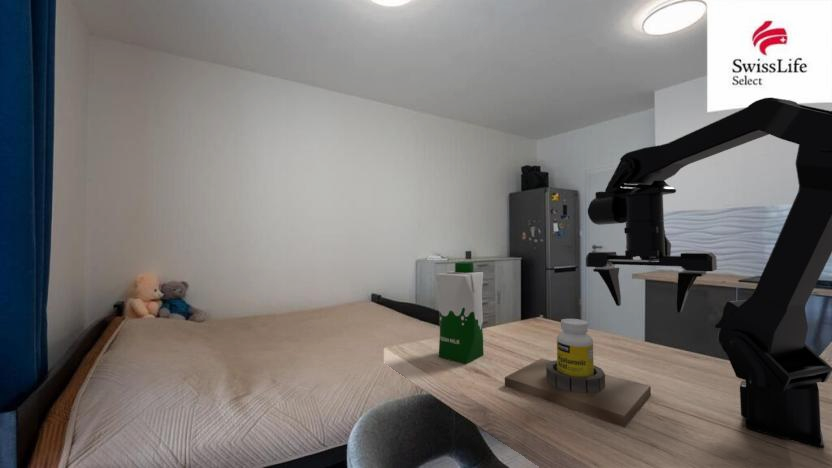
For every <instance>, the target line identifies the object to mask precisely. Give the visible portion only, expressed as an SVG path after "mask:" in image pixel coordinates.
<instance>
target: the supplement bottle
mask: <svg viewBox="0 0 832 468" xmlns="http://www.w3.org/2000/svg"><path fill="white" fill-rule="evenodd" d="M560 320H561V321H560V329H561V332H559V333H558V334H557V336H556V360H557V372H559V373H562V374H565V375H569V376H576V377H589V376H594V340H593V338H592V336H590V335H589V334H588V330H589V326H588V324H589V323H588V321H586V320H584V319H580V318H579V319H578V318H563V319H560Z"/></svg>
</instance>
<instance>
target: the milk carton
mask: <svg viewBox="0 0 832 468" xmlns="http://www.w3.org/2000/svg"><path fill="white" fill-rule="evenodd" d="M434 276H435V279H436V281H435V282H436V284H437V291H438V298H439V299H438V301H439V302H438V305H439V307H438V308H439V309H438V310H439V342H438V358H441V359H444V360H449V361H452V362H456V363H459V364H460V363H461V364H464V365H467V364H469V363H471V362H473V361H475V360H476V359H479V358H481V357H482V356H484V352H485V351H484V327H483V325H484V323H483V322H484V321H483V282H484V272H483V271H481V272H479V271H474V262H467V261H465V262H463V261H462V262H455V263H454V270H453V271H451V270H450V271H443V272H440V273H439V272H438V273H435V274H434Z"/></svg>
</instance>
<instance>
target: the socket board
mask: <svg viewBox="0 0 832 468" xmlns="http://www.w3.org/2000/svg"><path fill="white" fill-rule="evenodd" d="M593 365H594V364H593ZM504 387H506V388H509V389H510V390H511V389H512V390H515V391H518V392H519V393H520V392H521V393H523V394H526V395H529V396H532V397H535V398H539V399H541V400H545V401H547V402H549V403H552V404H555V405H559V406H562V407H565V408H567V409H571V410H573V411H576V412H578V413H582V414H584V415H588V416H590V417H593V418H596V419H599V420H602V421H605V422H607V423H611V424H614V425H616V426H619V427H623V428H626V426H627V425H628V424H629V423H630V422H631V420H632V419H633V418H634V417H635V416H636V415H637V413H638V412H639V411H640V409H641V408H642V407H643V406H644V404H645V403H646V402H647V401H648V399H650V397H651V396H652V391H651V390H652V389H651V388H652V386H651V385H650V384H649V385H648V384H645V383H641V382H637V381H634V380H629V379H625V378H620V377H617V376H613V375H610V374H605V372H604V370H603V369H602V368H601V367H598V366H597V365H594V376H589V377H576V376H569V375H565V374H562V373H559V372H557V359H556V360H551V359H550V360H549V359H546V358H540V359H538V360H536V361H534V362H532V363H530V364H527V365H526V366H524V367H522V368H520V369H518V370H516V371H515V372H512V373H510V374H508V375H507V376H505V377H504Z"/></svg>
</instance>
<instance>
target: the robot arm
mask: <svg viewBox="0 0 832 468" xmlns="http://www.w3.org/2000/svg"><path fill="white" fill-rule="evenodd" d="M768 135H770V136H773V137H774V138H778V139H780V140H783V141H787V142H789V143H793V144H796V145H798V148H797V153H796V159H795V171H796V174H797V175H796V176H797V181H798V182H797V183H798V189H797V194H796V196H795V198H794V200H793V202H792V204H791V208H790V210H789V211H788V214H787V217H785V218H786V219H785V221H784V223H783V225H782V227H781V230H780V232H779V234H778V237H777V239H776V240H775V241H776V242H775V243H774V246H773V249H772V251H771V252H770V254H769V257H768V260H767V262H766V264H765V265H764V269H763V271H762V273H761V275H760V279H759V280H758V282H757V285H756V287H755V289H754V291H753V293H752V295H750V297H749V298H748V299H743V300H742V299H740V300H732V301H731V300H730V301H727V302H725V305H724V307H723V311H722V315H721V319H720V320H719V321H718V323H716V324H715V325H714V328H716V329H719V331H718V333H717V342H718V343H719V345H720V346H721V347H722V350H723V351H724V352H725V354H726V356H727V358H728V360H729V363H730V365H731V367H732V369H733V370H732V371H733V372H734V373H735V374H734V375H735V377H736V378H738V379H741V382H740V385H739V398H740V399H739V401H740V416H741V417H742V418H743V419H745V422H744V424H745V427H746V428H747V429H749V430H753V431H757V432H760V433H762V434H763V433H765V434H767V435H770V436H774V437H777V438H778V437H779V438H782V439H784V440H790V441H792V442H796V443H799V444H803V445H807V446H810V447H813V448H818V449H825V442H824V438H823V432H822V425H821V405H820V403H821V402H820V390H819V385H818V383H826V382H827V381H828V379H829V378H830V376H831V374H832V366H830V364H828V363H827V361H825V360H824V359H823V358H822V357H821V356H819V354H817V353H816V352H815V351H814V350H813V349H811V348H810V347H809V346H808V345H807V344H806V340H807V335H808V330H809V325H808V321H807V320H808V319H807V314H806V306H807V304H808V301H809V299H810V297H811V295H812V293H813V291H814V289H815V287H816V285H817V283H818V280H819V279H820V276H821V275H822V273H823V270H824V269H825V267H826V265H827V263H828V261H829V259H830V257H831V255H832V110H829V109H828V110H827V109H824V108H817V107H813V106H807V105H803V104H799V103H798V102H796V101H794V100H791V99H783V98H777V97H764V98H760V99H757V100H754V101H753V102H752V103H750V104H749V105H748V106H747V107H745V108H743V109H740V110H738V111H735V112H734V113H731V114H729V115H727V116H725V117H723V118H719V119H718V120H716V121H713V122H712V123H709V124H706V125H705V126H703V127H701V128H699V129H696V130H694V131H692V132H690V133H687V134H685V135H682V136H680V137H678V138H676V139H674V140H672V141H670V142H667V143H664V144H660V145H659V144H658V145H652V146H647V147H642V148H639V149H635V150H631V151H628V152H626V153H624V154H623V155H622V156H620V160H619V162H618V164H617V167H616V168H615V170H614V173H613V174H612V176H611V178H610V180H609V181H608V183H607V186H606V187H605V190H604V191H596V192H595V198H593V199H592V200H591V201H590V202H589V205H588V208H587V215H588V218H589V220H590V221H591V222H592V223H593V224H595V225H599V226H601V225H615V224H625V227H624V229H623V230H624V234H625V236H626V237H625V238H626V240H625V241H626V242H625V243H626V244H625V248H626V249H625V251H624V253H625V254H623V255H619V254H617V252H616V251H591V252H588V253H587V254H586V257H585V267H587V268H593V269H592V271H593V272H595V273H598V274H599V276H600V277H601V279H602V281H604V283H605V286H606V287H607V289H608V291H609V292H610V295H611V297H612V299H613V301H614V303H615V305H616V306H617V307H620V306H621V304H622V303H621V302H622V301H621V300H622V294H621V287H620V281H619V280H620V279H619V273H620V267H615V266H616V265H618V266H619V265H623V266H624V265H626V266H649V267H650V266H651V267H652V266H653V267H655V266H656V267H681V269H682V270H681V271H679V272H678V273H677V274H678V275H677V286H676V288H677V289H676V312H677V313H679V314H680V313H682V311H683V309H684V306H685V304H686V300H687V298H688V295H689V293H690V290H691V288H692V287H693V284H694V283H695V281H697V278H699V277H700V278H701V277H704V276H706V275H707V272H714V271H716V270H717V269H718V266H717V255H715V254H714V253H713V252H701V251H699V252H697V251H696V252H695V251H694V252H691V251H690V252H689V251H688V252H687V251H686V252H681V253H680V255H671V254H672V253H671V251H672V249H671V248H672V243H671V242H670V240H669V239H668V238H667V236H666V230H665V221H664V219H665V218H664V217H665V216H664V215H665V214H664V195H671V194H675V193H676V192H677V189H676V188H674V187H673V186H671V185H669V184H668V183H667V182H666V180H668V179H669V178H672V177H674V176H675V175H676V174H677V173H678V172H679V171H681V169H682V168H684V167H686V166H688V165H690V164H693V163H696V162H698V161H701V160H704V159H706V158H709V157H712V156H715V155H717V154H720V153H723V152H725V151H728V150H730V149H731V150H732V149H733V148H736V147H738V146H741V145H744V144H746V143H750V142H753V141H755V140H757V139H758V140H759V139H760V138H763V137H765V136H766V137H767V136H768ZM636 257H639V259H634V258H636Z"/></svg>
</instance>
